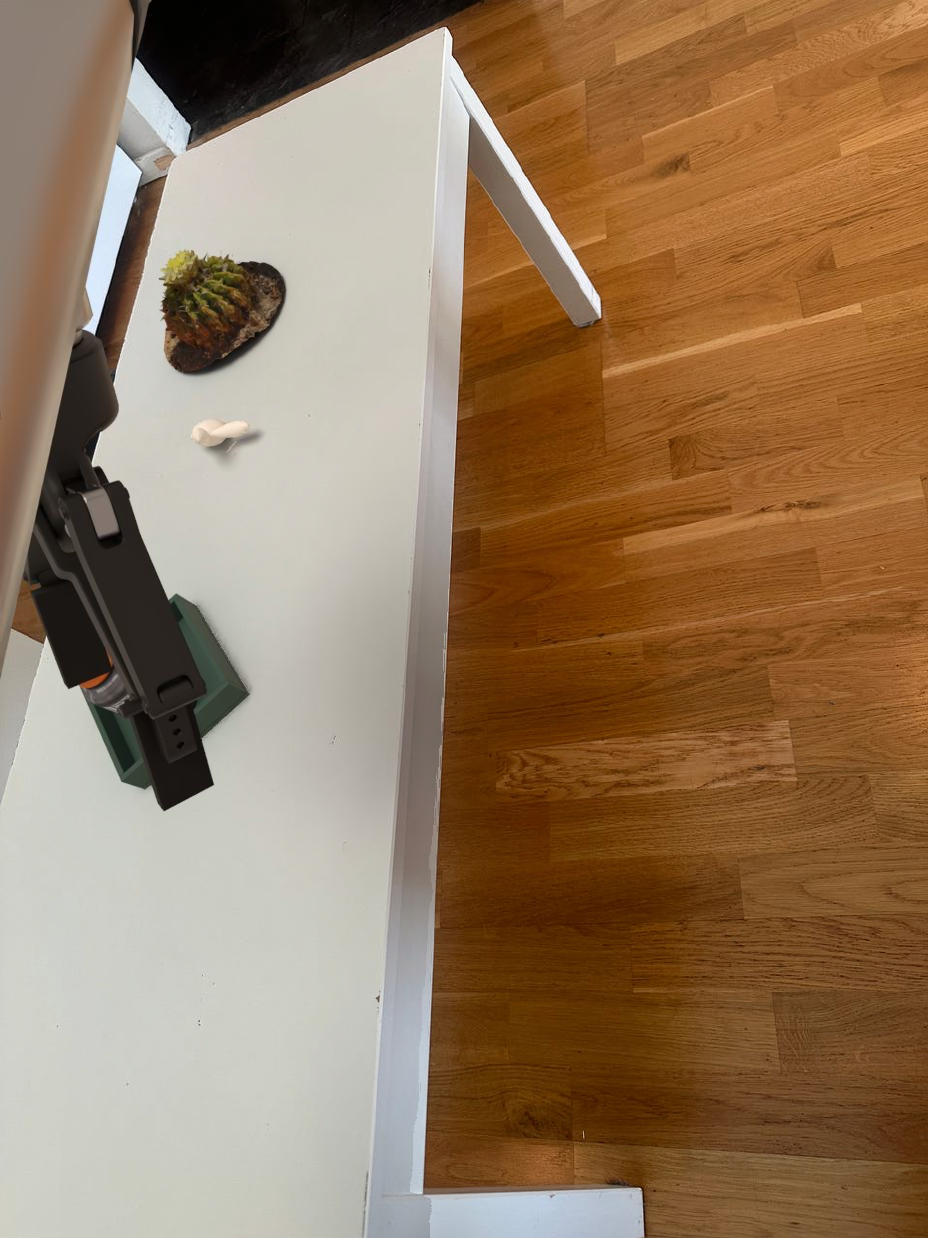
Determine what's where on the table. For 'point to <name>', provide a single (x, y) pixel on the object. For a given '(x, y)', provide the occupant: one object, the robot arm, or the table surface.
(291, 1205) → the table surface
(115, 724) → the tray
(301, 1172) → the table surface
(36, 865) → the table surface
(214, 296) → the cactus
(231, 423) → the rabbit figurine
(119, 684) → the pill bottle
